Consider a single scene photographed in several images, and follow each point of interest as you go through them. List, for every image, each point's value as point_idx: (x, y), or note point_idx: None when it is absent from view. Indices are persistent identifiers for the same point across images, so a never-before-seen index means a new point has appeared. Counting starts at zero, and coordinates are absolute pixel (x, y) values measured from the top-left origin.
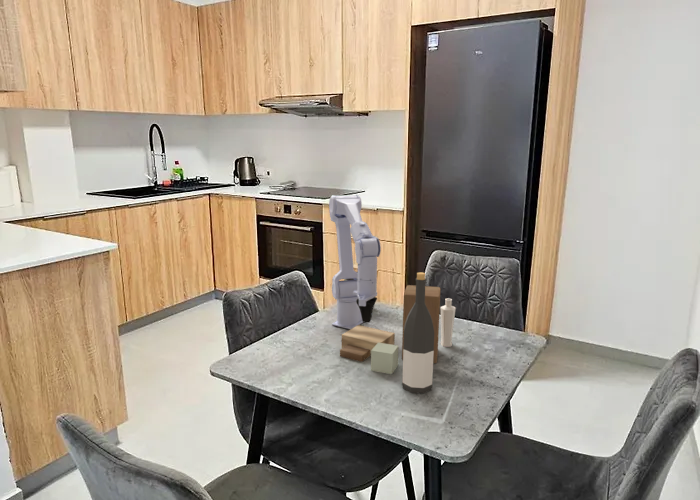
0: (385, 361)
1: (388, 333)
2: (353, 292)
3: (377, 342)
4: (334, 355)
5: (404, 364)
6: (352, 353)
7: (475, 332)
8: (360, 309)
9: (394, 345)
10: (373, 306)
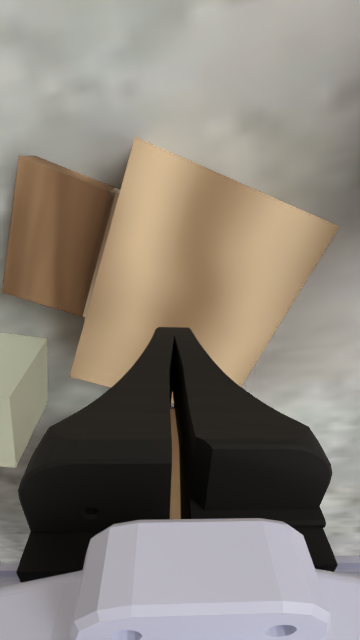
0: None
1: None
2: (116, 596)
3: (84, 367)
4: (29, 118)
5: None
6: (9, 240)
7: (341, 538)
8: (112, 391)
9: (9, 456)
10: (180, 501)
